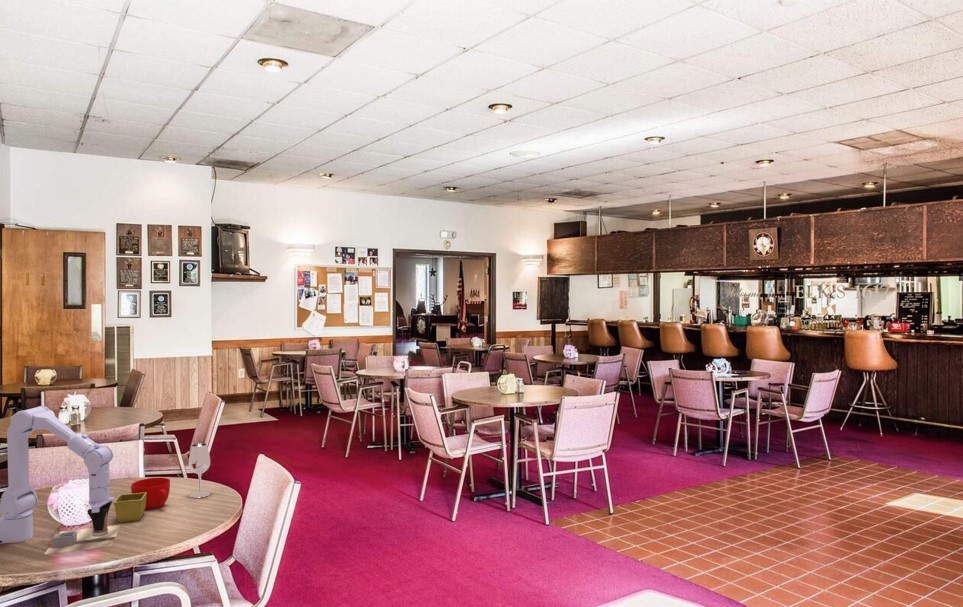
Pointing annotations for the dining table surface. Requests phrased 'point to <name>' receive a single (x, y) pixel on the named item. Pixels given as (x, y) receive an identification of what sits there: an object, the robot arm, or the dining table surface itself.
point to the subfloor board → (87, 540)
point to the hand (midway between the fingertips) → (100, 528)
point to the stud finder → (64, 539)
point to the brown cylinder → (104, 531)
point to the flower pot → (130, 506)
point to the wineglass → (199, 464)
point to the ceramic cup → (153, 491)
